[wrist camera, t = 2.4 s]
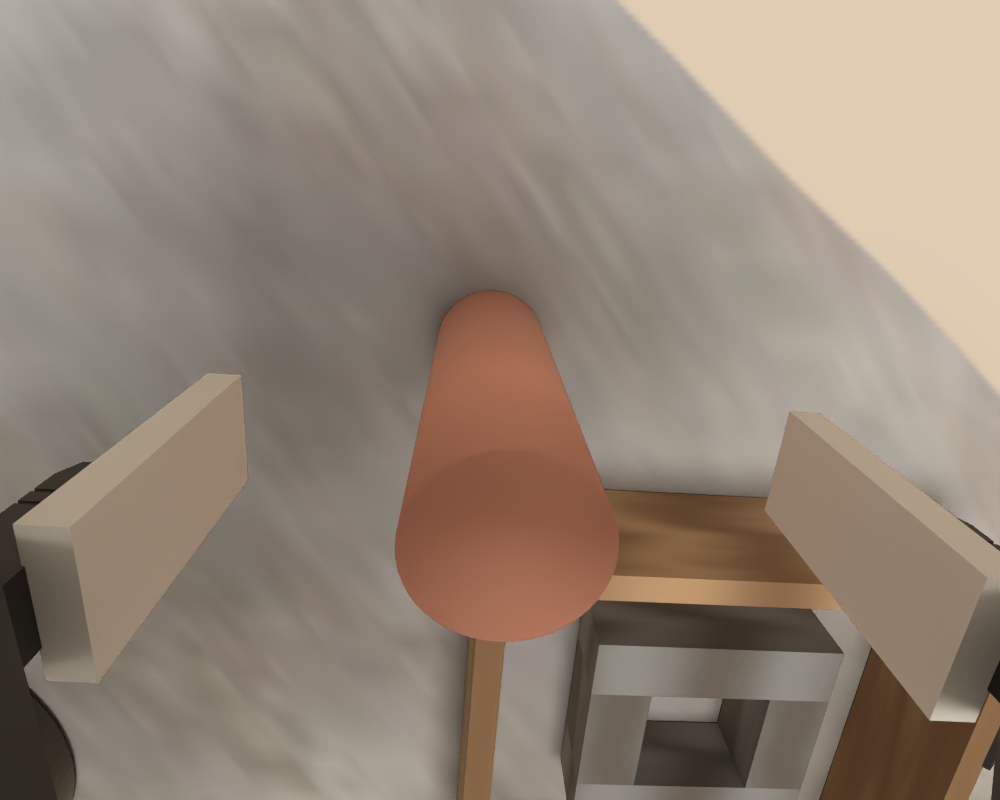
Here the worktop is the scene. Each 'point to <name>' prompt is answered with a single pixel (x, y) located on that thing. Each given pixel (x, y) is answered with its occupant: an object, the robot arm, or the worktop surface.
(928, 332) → the worktop surface
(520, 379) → the peg
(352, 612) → the worktop surface
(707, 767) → the crate
